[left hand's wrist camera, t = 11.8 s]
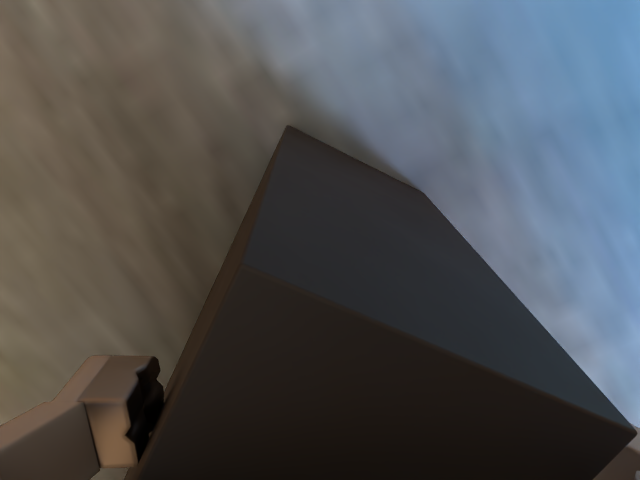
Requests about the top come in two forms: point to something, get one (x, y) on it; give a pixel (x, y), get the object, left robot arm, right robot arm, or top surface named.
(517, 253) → the top surface
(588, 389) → the box
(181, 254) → the top surface
